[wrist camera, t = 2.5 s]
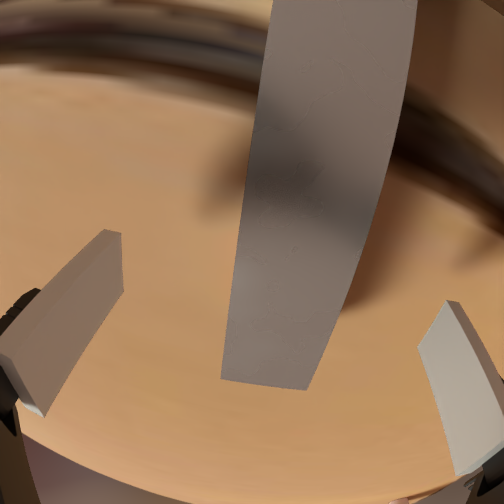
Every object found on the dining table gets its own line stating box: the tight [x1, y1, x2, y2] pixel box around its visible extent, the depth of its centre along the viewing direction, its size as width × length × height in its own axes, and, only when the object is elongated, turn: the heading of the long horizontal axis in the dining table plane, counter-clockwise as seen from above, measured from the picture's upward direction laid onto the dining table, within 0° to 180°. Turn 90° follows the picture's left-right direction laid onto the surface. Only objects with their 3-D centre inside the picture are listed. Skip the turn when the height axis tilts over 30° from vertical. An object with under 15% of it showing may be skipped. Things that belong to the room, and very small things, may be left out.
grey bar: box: [221, 0, 418, 390], centre depth 10 cm, size 4×24×5 cm, turn 172°
